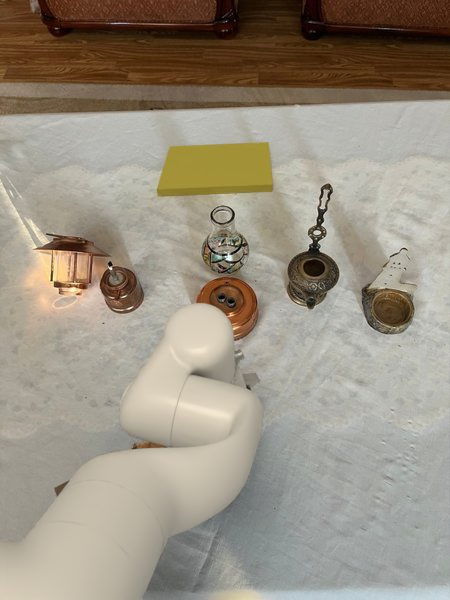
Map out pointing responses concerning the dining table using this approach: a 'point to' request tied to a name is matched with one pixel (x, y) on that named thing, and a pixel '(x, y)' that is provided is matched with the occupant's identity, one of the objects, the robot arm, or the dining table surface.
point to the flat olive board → (216, 169)
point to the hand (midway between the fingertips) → (212, 416)
